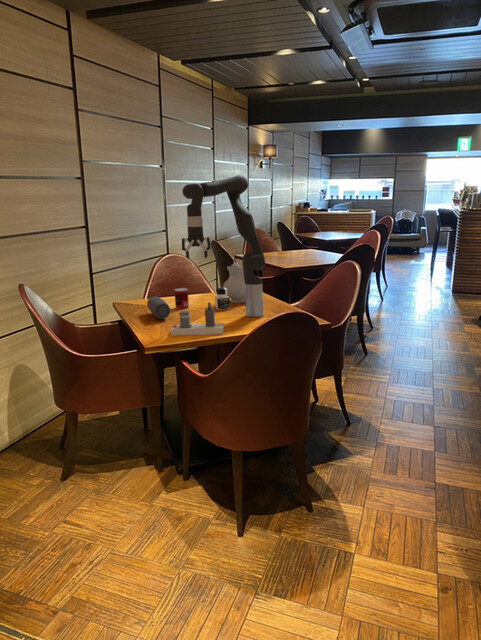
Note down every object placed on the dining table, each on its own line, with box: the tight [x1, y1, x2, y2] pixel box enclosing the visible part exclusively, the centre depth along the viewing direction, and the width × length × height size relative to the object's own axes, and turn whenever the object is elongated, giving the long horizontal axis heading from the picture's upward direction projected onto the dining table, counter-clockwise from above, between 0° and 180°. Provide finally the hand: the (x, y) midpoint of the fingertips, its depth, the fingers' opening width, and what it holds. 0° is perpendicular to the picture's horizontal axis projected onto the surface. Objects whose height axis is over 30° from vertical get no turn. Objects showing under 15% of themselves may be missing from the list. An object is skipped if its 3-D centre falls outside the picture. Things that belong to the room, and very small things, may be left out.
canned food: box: [174, 287, 190, 310], centre depth 282 cm, size 8×8×11 cm
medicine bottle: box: [214, 287, 231, 311], centre depth 276 cm, size 7×7×12 cm
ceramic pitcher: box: [222, 259, 245, 304], centre depth 294 cm, size 22×20×25 cm
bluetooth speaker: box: [146, 295, 171, 320], centre depth 262 cm, size 23×9×10 cm, turn 21°
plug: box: [178, 310, 191, 328], centre depth 227 cm, size 4×4×10 cm
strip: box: [170, 302, 225, 337], centre depth 226 cm, size 24×9×14 cm, turn 89°
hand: (196, 258), depth 243 cm, fingers open, 8 cm apart
